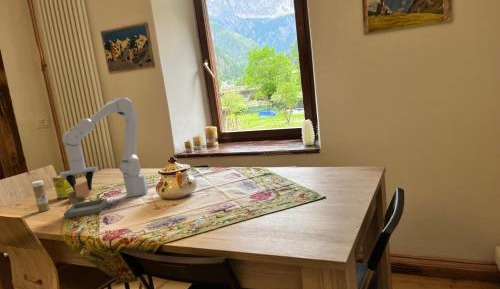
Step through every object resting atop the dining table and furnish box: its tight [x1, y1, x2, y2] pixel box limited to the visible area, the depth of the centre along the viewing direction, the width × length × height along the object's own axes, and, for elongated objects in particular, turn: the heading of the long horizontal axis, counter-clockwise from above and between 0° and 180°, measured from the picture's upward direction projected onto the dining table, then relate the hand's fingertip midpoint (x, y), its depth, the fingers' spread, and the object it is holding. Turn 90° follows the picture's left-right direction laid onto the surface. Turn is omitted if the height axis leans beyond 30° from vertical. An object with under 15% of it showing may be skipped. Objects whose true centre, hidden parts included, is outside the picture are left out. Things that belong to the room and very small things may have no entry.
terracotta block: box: [74, 180, 93, 197], centre depth 162 cm, size 5×5×5 cm
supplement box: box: [52, 174, 73, 200], centre depth 188 cm, size 6×6×11 cm
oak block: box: [67, 189, 90, 204], centre depth 182 cm, size 7×7×5 cm
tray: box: [63, 198, 108, 220], centre depth 162 cm, size 14×12×2 cm
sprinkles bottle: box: [31, 180, 51, 213], centre depth 171 cm, size 5×5×14 cm
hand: (83, 190), depth 162 cm, fingers closed on terracotta block, 5 cm apart
